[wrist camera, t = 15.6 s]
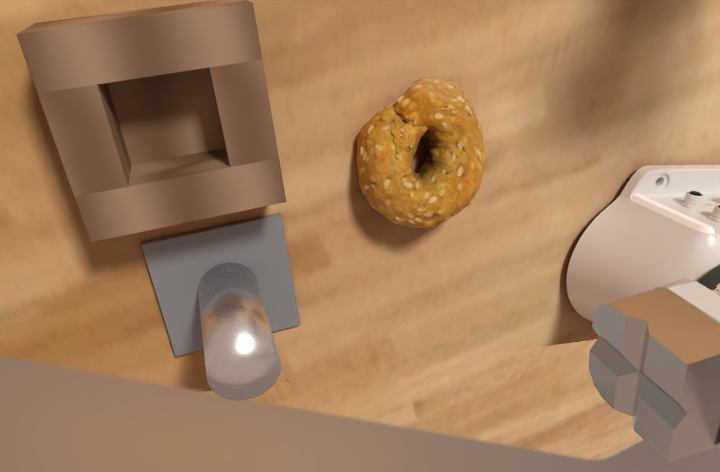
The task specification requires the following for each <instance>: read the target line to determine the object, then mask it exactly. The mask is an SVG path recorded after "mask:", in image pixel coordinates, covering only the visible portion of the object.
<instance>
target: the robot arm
mask: <svg viewBox="0 0 720 472" xmlns="http://www.w3.org/2000/svg"><path fill="white" fill-rule="evenodd" d="M656 180H657V181H656ZM566 284H567V293H568V297H569V300H570V302H571V304H572V306H573V308H574V309H575V310H576V311H577V313H579V314H580V315H581V316H582V317H584V318H585V319H587V320H590V321H592V322H593V324H592V328H593V329H594V330H595V332H596V333H597V334H598V335H599V338H598V339H597V341H596V342H595V344H594V345H593V347H592V348H591V349H590V354H589V370H590V373H591V376H592V380H593V383H594V385H595V387H596V388H597V390H598V392H599V393H600V395H601V396H602V398H603V399H604V400H605V401H606V402H607V403H608V404H609V405H610V406H611V407H612V408H613V409H615V410H617V411H620V412H623V413H625V414H628V415H630V416H632V417H633V425H634V430H635V431H636V432H637V433H638V434H639V435H640V436H641V437H642V438H643V439H644V440H645V441H646V442H647V443H648V444H649V445H650V446H651V447H652V448H653V449H654V450H655V451H656V452H657V453H658V454H659V455H660V456H661V457H662V458H663V459H664V460H665V461H666V462H667V463H670V462H673V461H676V460H679V459H682V458H685V457H687V456H691V455H693V454H696V453H699V452H702V451H705V450H708V449H711V448H714V447H717V446H719V448H718V450H720V165H648V166H643V167H641V168H640V169H638V170H637V171H636V172H635V173H634V175H633V176H632V177H631V179H630V180H629V182H628V183H627V185H626V186H625V188H624V189H623V191H622V193H621V194H620V196H619V197H618V198H617V199H616V200H615V201H614V202H613V203H612V204H610V205H609V206H608V207H607V208H606V209H605V210H604V211H602V212H601V213H600V214H599V215H598V216H597V217H596V218H595V219H594V220H593V222H592V223H591V224H590V225H589V226H588V228H587V229H586V230H585V232H584V233H583V235H582V236H581V238H580V239H579V241H578V243H577V245H576V247H575V249H574V251H573V254H572V256H571V259H570V262H569V266H568V271H567V280H566Z"/></svg>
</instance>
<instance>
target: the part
mask: <svg viewBox="0 0 720 472" xmlns="http://www.w3.org/2000/svg"><path fill="white" fill-rule="evenodd" d="M198 297H199V307H200V317H201V327H202V337H203V347H204V357H205V367H206V377H207V382H208V384H209V386H210V388H211V389H212V390H213V391H214V392H215V393H216V394H217V395H219V396H221V397H223V398H226V399H230V400H247V399H251V398H254V397H257V396H259V395H261V394H263V393H264V392H266V391H267V390H268V389H270V388H271V387H272V386H273V385H274V383H275V382H276V380H277V379H278V377H279V374H280V370H281V363H280V358H279V355H278V351H277V348H276V344H275V341H274V337H273V334H272V330H271V326H270V323H269V319H268V316H267V312H266V309H265V305H264V302H263V298H262V294H261V291H260V287H259V284H258V280H257V278H256V276H255V274H254V273H253V272H252V270H250V269H249V268H248V267H246V266H244V265H242V264H238V263H223V264H219V265H217V266H214V267H213V268H211V269H210V270H208V271H207V272H206V273H205V274H204V275H203V277H202V278H201V280H200V282H199V286H198Z"/></svg>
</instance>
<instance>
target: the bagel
mask: <svg viewBox="0 0 720 472" xmlns="http://www.w3.org/2000/svg"><path fill="white" fill-rule="evenodd" d="M421 137H423V139H424V142H425V144H426V147H427V149H428V154H427V155H426V157H427V158H426V159H425V162H424V164H423V165H422V166H421V167H420V168H419V171H418V172H417V173H415V172H414V170H413V168H412V160H413V158H414V155H415V152H416V150H417V147H418V144H419V141H420V138H421ZM485 162H486V153H485V150H484V144H483V134H482V129H481V125H480V124H479V122H478V120H477V118H476V114H475V113H474V110H473V107H472V106H471V104H470V102H469V100H468V99H467V96H466V95H465V93H464V91H463V90H462V88H461V87H460V86H459V85H457V84H456V83H455V82H452V81H445V80H442V79H441V78H438V79H436V78H430V79H427V78H422V79H419V80H418V81H416V82H414V83H413V84H412V85H411V86H410V87H409V88H408V90H407V91H406V93H405V94H404V95H403V96H401V97H399V98H398V100H397V103H395V102H394V103H389V104H388V105H386V106H385V107H384V108H383V109H380V110H379V111H378V113H377V114H376V115H375V116H374V117H373V118H372V119H371V120H370V121H369V122H368V123H366V124H365V125H364V127H363V128H362V130H361V131H360V133H359V135H358V137H357V168H358V175H359V186H360V188H361V189H362V193H363V194H364V195H365V197H366V198H367V200H368V203H369V204H370V206H371V207H372V208H374V209H375V210H376V211H378V212H380V213H381V214H382V215H384V216H385V217H386V218H387V219H388V220H390V221H391V222H393V223H395V224H398V225H404V226H408V227H413V228H432V227H434V226H436V225H437V224H439V223H440V222H444V221H446V220H447V219H449V218H450V217H452V216H454V215H455V214H457V213H458V212H460V211H461V210H462V209H463V208H465V207H466V206H468V205H469V204H471V203H472V201H473V199H474V195H475V194H476V192H477V191H478V190H479V187H480V184H481V180H482V174H483V170H484V166H485Z"/></svg>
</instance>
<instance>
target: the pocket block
mask: <svg viewBox="0 0 720 472" xmlns="http://www.w3.org/2000/svg"><path fill="white" fill-rule="evenodd" d="M17 37H18V40H19V43H20V46H21V49H22V51H23V54H24V57H25V60H26V63H27V65H28V68H29V71H30V74H31V77H32V79H33V82H34V85H35V88H36V91H37V93H38V96H39V99H40V102H41V105H42V108H43V110H44V113H45V116H46V119H47V122H48V124H49V127H50V130H51V133H52V136H53V138H54V141H55V144H56V147H57V150H58V152H59V155H60V158H61V161H62V164H63V167H64V169H65V172H66V175H67V178H68V181H69V183H70V186H71V189H72V192H73V195H74V197H75V200H76V203H77V206H78V209H79V211H80V214H81V217H82V220H83V223H84V226H85V228H86V231H87V234H88V237H89V240H90V242H95V241H100V240H105V239H110V238H115V237H119V236H124V235H129V234H134V233H139V232H144V231H148V230H153V229H158V228H163V227H168V226H172V225H177V224H182V223H187V222H192V221H197V220H201V219H206V218H211V217H216V216H221V215H225V214H230V213H235V212H240V211H245V210H250V209H254V208H259V207H264V206H269V205H274V204H278V203H283V202H286V197H285V191H284V185H283V180H282V174H281V168H280V162H279V156H278V150H277V144H276V138H275V132H274V126H273V120H272V114H271V109H270V103H269V97H268V91H267V85H266V79H265V73H264V67H263V61H262V55H261V49H260V43H259V37H258V32H257V26H256V20H255V14H254V8H253V3H251V2H250V1H248V0H215V1H207V2H199V3H191V4H183V5H175V6H168V7H160V8H152V9H144V10H136V11H129V12H121V13H113V14H105V15H97V16H89V17H82V18H74V19H66V20H58V21H50V22H42V23H35V24H33V25H32V26H30V27H28V28H27V29H25V30H23V31H21V32H20V33H18V34H17Z"/></svg>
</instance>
